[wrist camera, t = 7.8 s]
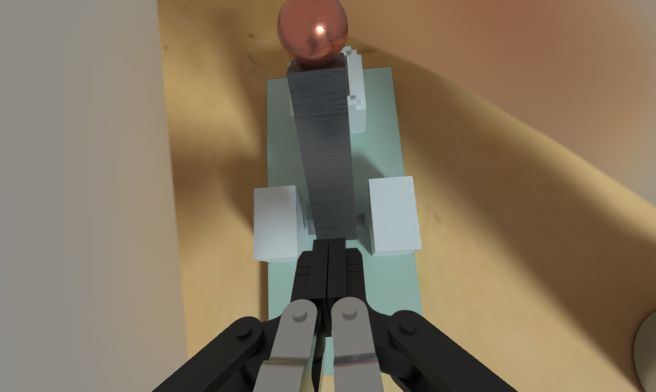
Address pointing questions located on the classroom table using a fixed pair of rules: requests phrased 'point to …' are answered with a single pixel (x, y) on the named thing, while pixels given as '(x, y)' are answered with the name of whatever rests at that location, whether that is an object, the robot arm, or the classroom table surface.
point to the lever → (321, 112)
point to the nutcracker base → (369, 193)
